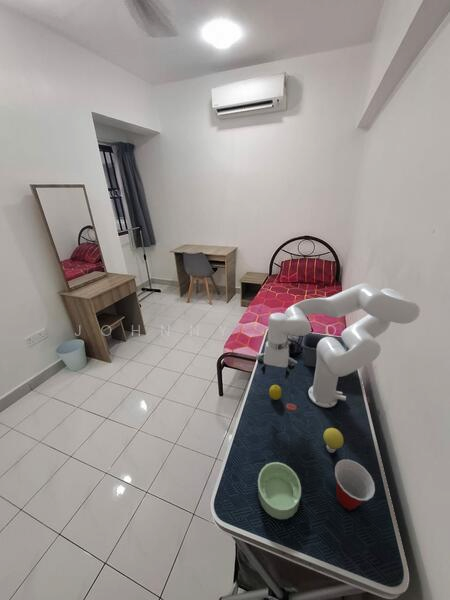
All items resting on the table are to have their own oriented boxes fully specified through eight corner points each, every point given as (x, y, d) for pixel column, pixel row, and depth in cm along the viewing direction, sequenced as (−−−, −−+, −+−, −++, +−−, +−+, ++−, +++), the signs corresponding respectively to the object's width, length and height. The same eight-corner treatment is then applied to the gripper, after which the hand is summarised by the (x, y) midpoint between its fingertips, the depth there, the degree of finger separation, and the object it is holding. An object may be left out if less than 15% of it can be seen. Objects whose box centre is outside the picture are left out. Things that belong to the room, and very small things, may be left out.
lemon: (267, 394, 114) (268, 382, 110) (279, 393, 114) (279, 380, 111) (270, 404, 109) (271, 391, 105) (282, 402, 109) (283, 390, 106)
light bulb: (331, 462, 86) (335, 445, 81) (317, 446, 91) (320, 429, 86) (344, 453, 88) (349, 435, 84) (329, 437, 94) (333, 420, 89)
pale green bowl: (300, 479, 81) (301, 468, 79) (298, 527, 70) (300, 517, 68) (261, 467, 85) (262, 457, 83) (254, 511, 74) (254, 501, 72)
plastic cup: (371, 524, 70) (381, 503, 65) (332, 516, 72) (338, 495, 67) (360, 483, 79) (368, 461, 74) (326, 476, 82) (331, 455, 76)
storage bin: (298, 367, 129) (301, 345, 123) (302, 350, 142) (304, 329, 135) (342, 377, 121) (347, 355, 115) (342, 358, 134) (346, 337, 127)
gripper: (299, 339, 97) (296, 371, 105) (257, 334, 102) (257, 364, 110) (299, 351, 91) (295, 384, 99) (254, 344, 96) (253, 376, 104)
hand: (275, 373), depth 104 cm, fingers open, 9 cm apart
